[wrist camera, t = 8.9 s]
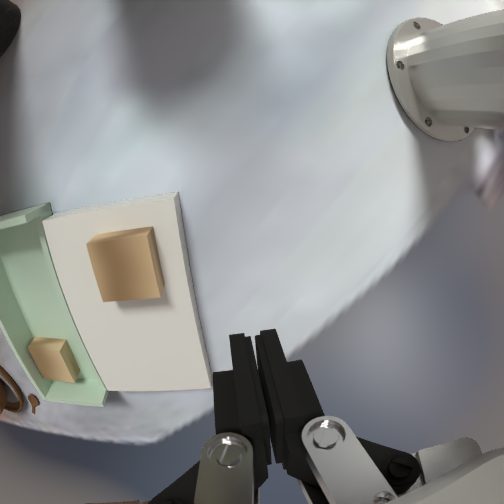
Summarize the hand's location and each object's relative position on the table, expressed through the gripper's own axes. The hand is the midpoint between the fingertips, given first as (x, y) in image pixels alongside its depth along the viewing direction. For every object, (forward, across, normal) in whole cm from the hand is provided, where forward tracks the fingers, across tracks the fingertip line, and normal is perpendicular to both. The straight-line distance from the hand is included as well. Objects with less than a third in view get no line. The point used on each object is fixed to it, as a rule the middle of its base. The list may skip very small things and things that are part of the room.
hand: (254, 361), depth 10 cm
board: (+14, +9, +5) cm, 17 cm away
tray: (+14, +19, +5) cm, 24 cm away
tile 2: (+12, +20, +10) cm, 26 cm away
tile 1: (+11, +8, 0) cm, 14 cm away
